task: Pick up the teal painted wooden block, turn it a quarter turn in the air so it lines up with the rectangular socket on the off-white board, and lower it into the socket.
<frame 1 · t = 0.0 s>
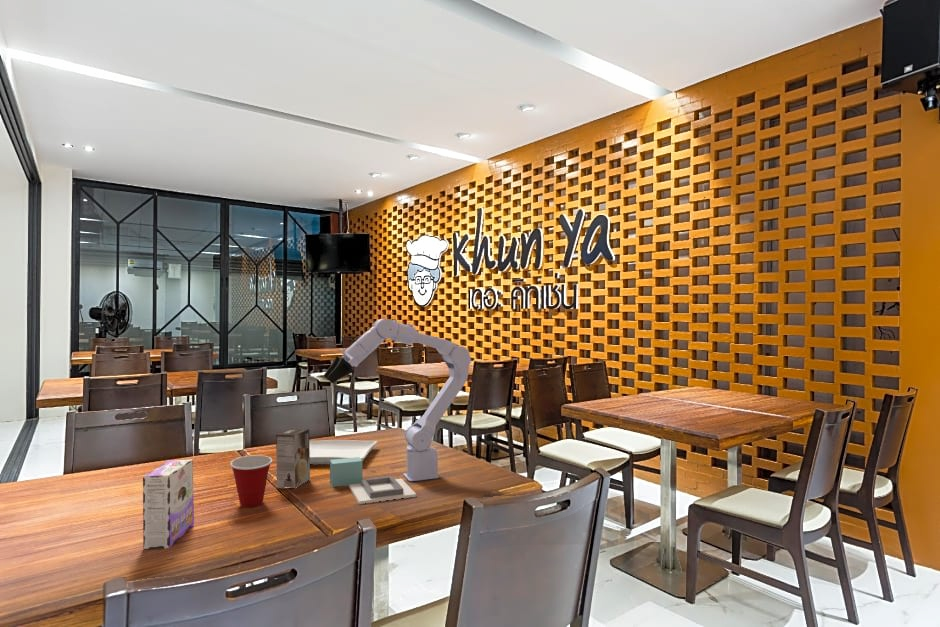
hand: (327, 379, 167), 32 cm above the table, tool tilted 50°, fingers open, 7 cm apart
square plate: (333, 458, 203), on the table
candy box: (169, 537, 131), on the table
coffee box: (293, 484, 171), on the table
teal block: (346, 483, 172), on the table
plastic cup: (251, 504, 154), on the table
socket board: (381, 492, 163), on the table
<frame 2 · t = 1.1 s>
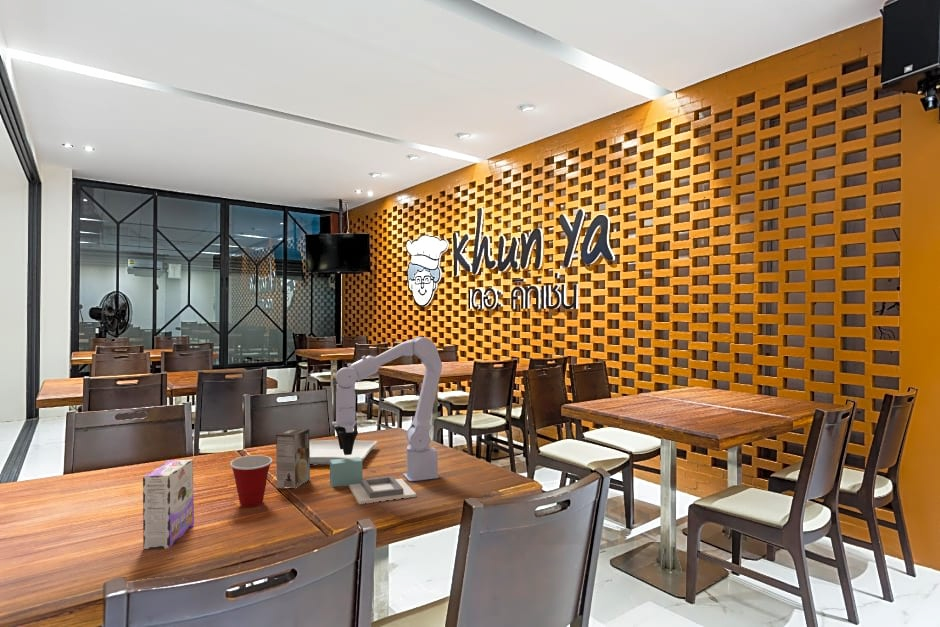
hand: (345, 451, 172), 10 cm above the table, tool pointing down, fingers open, 7 cm apart
nothing on the table moved.
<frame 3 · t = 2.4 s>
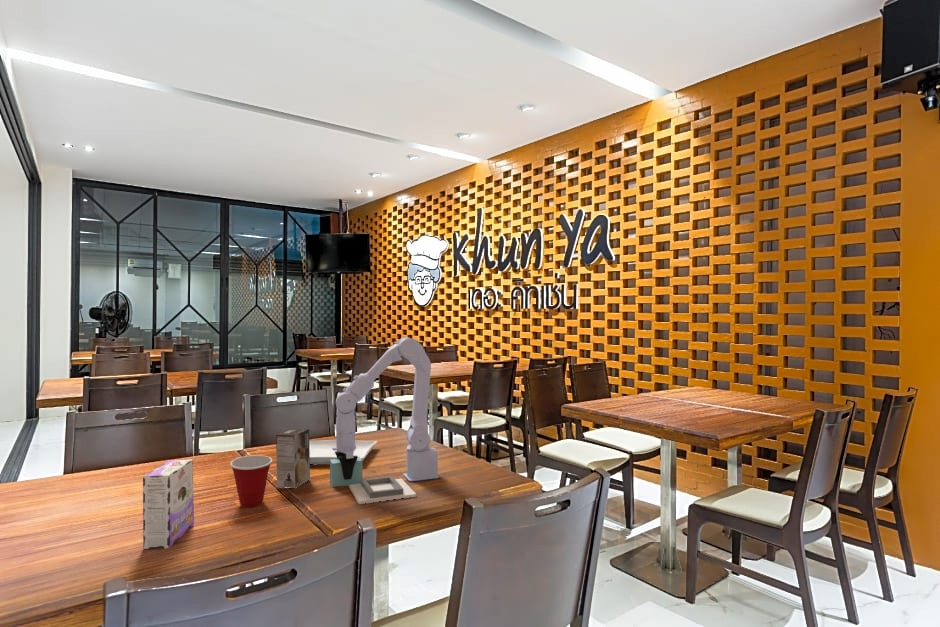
hand: (346, 476, 172), 2 cm above the table, tool pointing down, fingers closed on teal block, 5 cm apart
teal block: (346, 482, 172), on the table, touching gripper
everything else where it was.
when the fingers open (4 cm above the table, at t = 7.3 s): teal block stays where it is, resting on socket board.
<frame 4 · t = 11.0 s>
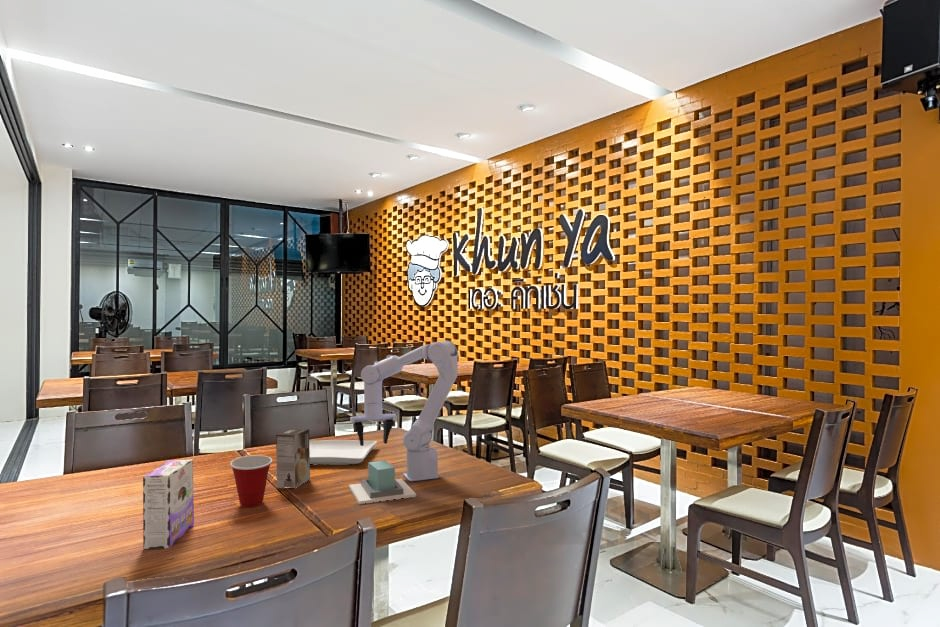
hand: (373, 444, 182), 9 cm above the table, tool pointing down, fingers open, 7 cm apart
teal block: (381, 489, 163), point 1 cm above the table, touching socket board
everything else where it was.
at the end: teal block 0.2 cm off-centre on the socket board, point 0.8 cm above the socket board's base; teal block tilted 0°; the gripper is holding nothing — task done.
